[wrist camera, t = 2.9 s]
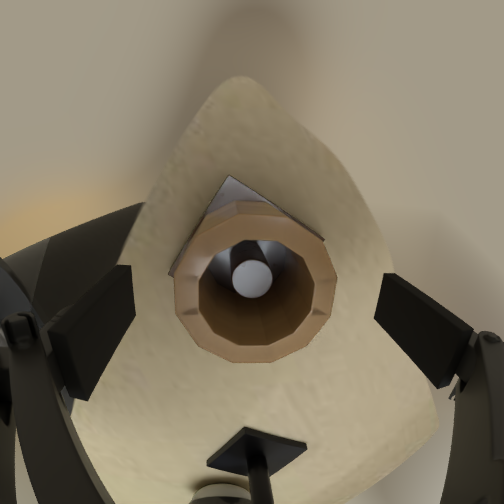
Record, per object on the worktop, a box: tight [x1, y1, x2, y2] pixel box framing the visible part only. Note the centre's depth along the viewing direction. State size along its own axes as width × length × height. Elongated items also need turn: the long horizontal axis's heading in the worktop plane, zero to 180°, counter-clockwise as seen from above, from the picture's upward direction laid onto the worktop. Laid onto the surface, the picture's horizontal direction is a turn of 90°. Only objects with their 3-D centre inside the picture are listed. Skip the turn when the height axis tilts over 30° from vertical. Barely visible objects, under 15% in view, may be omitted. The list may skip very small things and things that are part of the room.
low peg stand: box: [168, 175, 325, 298], centre depth 19 cm, size 8×8×6 cm
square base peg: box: [207, 427, 307, 504], centre depth 23 cm, size 9×9×10 cm
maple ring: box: [174, 200, 337, 363], centre depth 17 cm, size 8×8×7 cm
